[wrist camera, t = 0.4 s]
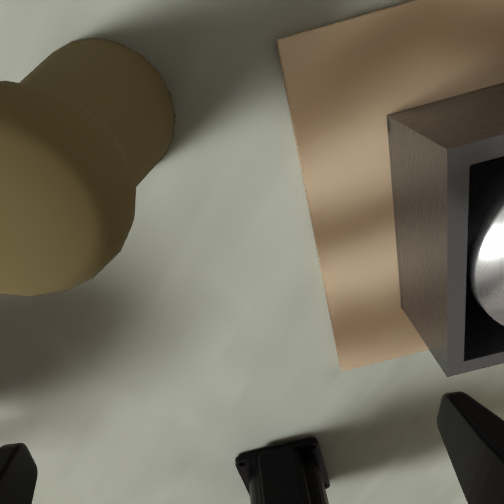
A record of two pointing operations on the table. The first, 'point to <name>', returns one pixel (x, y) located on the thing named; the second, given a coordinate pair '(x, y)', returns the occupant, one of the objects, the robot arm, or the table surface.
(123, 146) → the pepper shaker
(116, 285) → the table surface
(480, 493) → the robot arm
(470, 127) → the shallow square tray
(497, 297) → the plunger
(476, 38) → the tan square board
